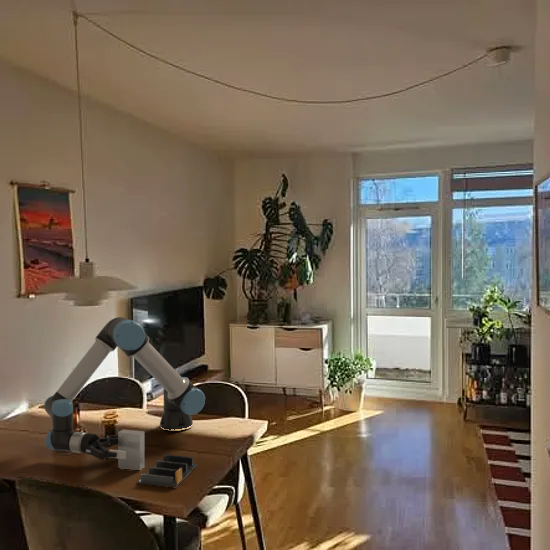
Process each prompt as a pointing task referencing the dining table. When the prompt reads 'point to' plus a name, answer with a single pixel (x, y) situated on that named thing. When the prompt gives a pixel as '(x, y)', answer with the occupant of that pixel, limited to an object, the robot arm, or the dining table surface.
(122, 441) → the panel
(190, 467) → the rack
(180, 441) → the dining table surface
